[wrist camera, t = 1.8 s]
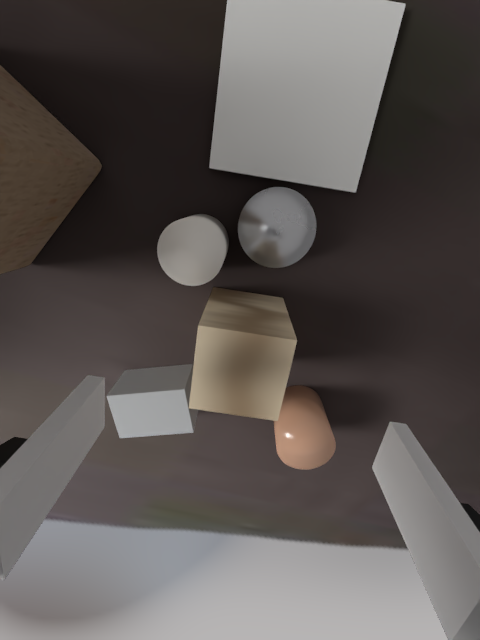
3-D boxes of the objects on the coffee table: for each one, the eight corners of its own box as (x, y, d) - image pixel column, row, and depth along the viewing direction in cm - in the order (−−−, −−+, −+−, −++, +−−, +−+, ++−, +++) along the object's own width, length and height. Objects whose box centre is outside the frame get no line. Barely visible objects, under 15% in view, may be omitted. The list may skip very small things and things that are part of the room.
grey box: (136, 407, 29) (119, 438, 26) (125, 369, 28) (106, 395, 24) (200, 402, 29) (193, 432, 25) (193, 363, 28) (184, 389, 24)
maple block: (205, 349, 27) (188, 408, 19) (213, 287, 25) (198, 325, 17) (269, 359, 27) (277, 421, 20) (282, 297, 25) (297, 340, 18)
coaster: (210, 168, 22) (209, 167, 21) (230, -22, 18) (230, -29, 18) (353, 192, 22) (355, 192, 22) (401, 9, 19) (405, 3, 18)
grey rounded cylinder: (173, 264, 24) (155, 280, 20) (177, 209, 23) (159, 213, 18) (225, 272, 24) (219, 290, 20) (232, 218, 23) (228, 224, 18)
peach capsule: (268, 422, 29) (271, 465, 25) (277, 381, 28) (282, 418, 23) (315, 429, 30) (327, 473, 25) (326, 389, 28) (342, 427, 23)
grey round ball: (234, 254, 24) (232, 261, 21) (245, 182, 22) (244, 180, 19) (299, 264, 24) (306, 273, 21) (315, 194, 22) (324, 194, 20)
